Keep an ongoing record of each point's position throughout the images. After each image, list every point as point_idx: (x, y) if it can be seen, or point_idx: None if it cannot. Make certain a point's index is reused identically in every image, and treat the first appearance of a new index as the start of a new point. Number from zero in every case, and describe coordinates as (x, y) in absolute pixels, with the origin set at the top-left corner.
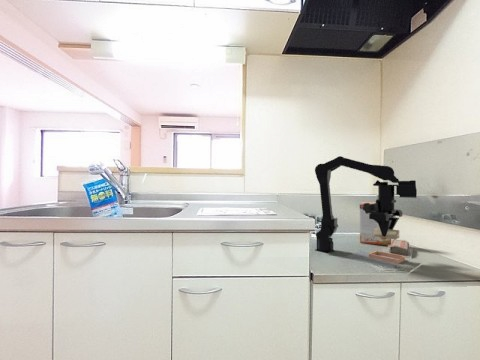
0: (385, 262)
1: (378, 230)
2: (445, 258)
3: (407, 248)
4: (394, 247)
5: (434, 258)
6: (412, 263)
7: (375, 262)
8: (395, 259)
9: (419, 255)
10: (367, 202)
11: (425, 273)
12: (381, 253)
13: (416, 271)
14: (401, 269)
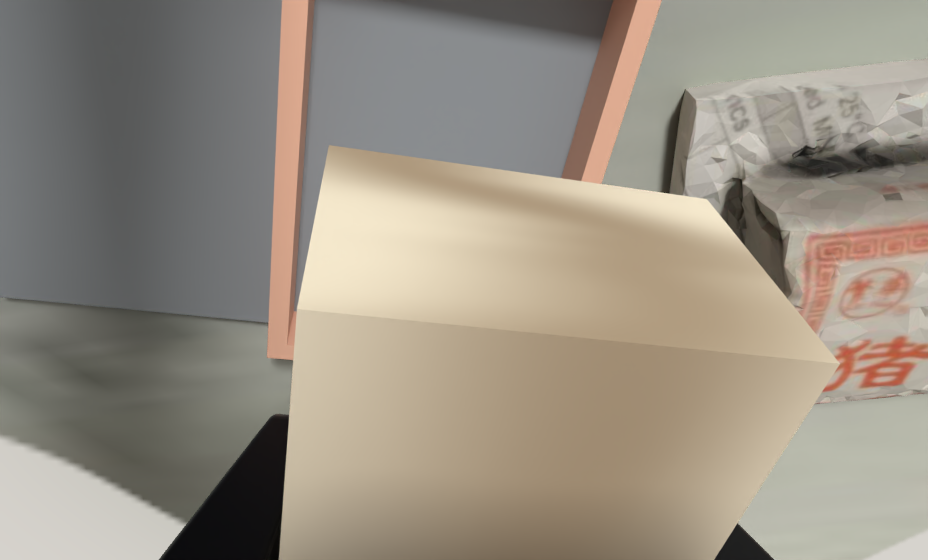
0: (203, 194)
1: (288, 442)
2: (837, 552)
3: (827, 402)
4: (779, 280)
5: (798, 502)
6: None
7: (64, 76)
8: (269, 327)
9: (878, 405)
10: None
11: (176, 515)
12: (604, 73)
13: (173, 464)
14: (110, 366)
